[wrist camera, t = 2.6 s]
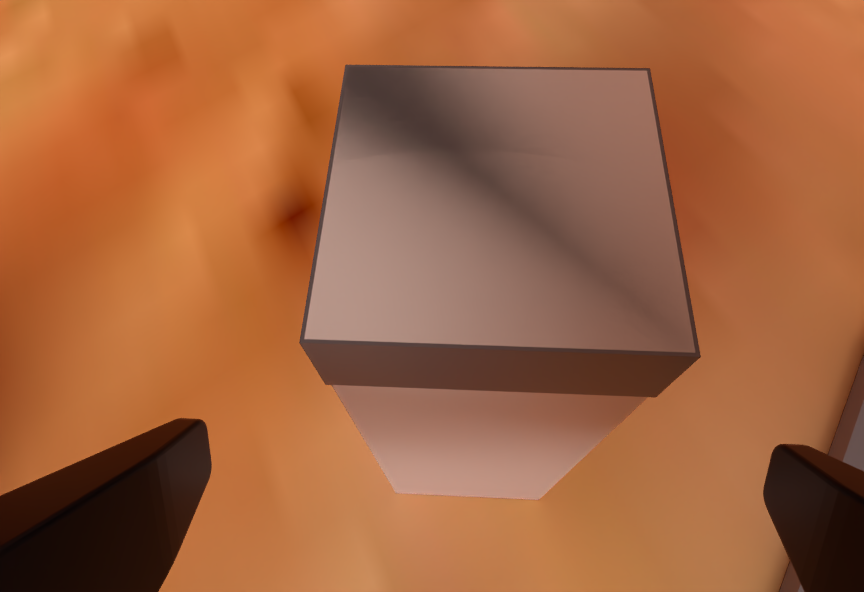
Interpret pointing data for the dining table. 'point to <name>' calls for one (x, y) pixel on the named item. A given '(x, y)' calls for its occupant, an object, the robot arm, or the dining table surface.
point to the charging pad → (842, 450)
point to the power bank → (495, 270)
